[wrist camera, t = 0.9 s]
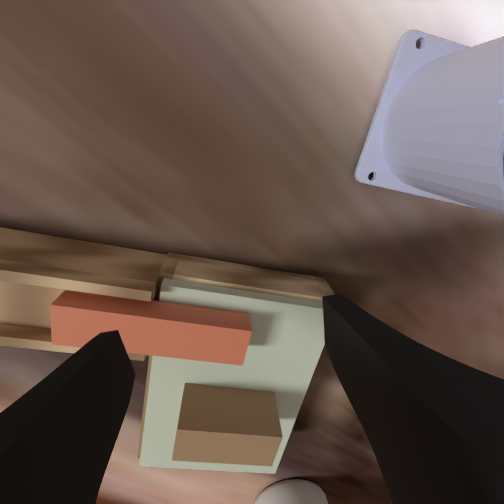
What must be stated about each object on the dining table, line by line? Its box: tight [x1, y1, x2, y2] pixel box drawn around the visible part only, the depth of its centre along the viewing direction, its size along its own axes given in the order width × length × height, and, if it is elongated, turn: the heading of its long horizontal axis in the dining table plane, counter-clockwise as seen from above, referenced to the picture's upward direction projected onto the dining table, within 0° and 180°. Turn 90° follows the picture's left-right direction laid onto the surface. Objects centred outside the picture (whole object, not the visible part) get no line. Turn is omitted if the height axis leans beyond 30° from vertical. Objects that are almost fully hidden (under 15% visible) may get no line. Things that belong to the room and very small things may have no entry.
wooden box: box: [138, 252, 335, 458], centre depth 22 cm, size 11×16×3 cm
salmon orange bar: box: [50, 290, 252, 366], centre depth 16 cm, size 10×2×2 cm, turn 77°
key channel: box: [0, 227, 167, 361], centre depth 17 cm, size 13×5×5 cm, turn 77°
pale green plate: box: [139, 278, 325, 474], centre depth 19 cm, size 10×15×4 cm
